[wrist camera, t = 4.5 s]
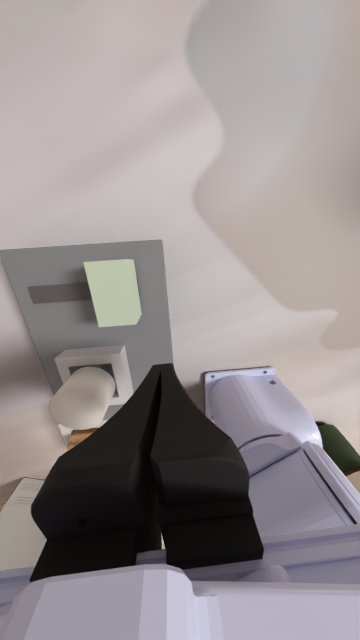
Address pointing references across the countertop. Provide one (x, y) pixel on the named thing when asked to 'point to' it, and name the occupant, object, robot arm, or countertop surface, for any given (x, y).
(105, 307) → the pale green block
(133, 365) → the switch panel
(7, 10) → the countertop surface
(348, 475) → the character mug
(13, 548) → the supplement box
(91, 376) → the off-white button
